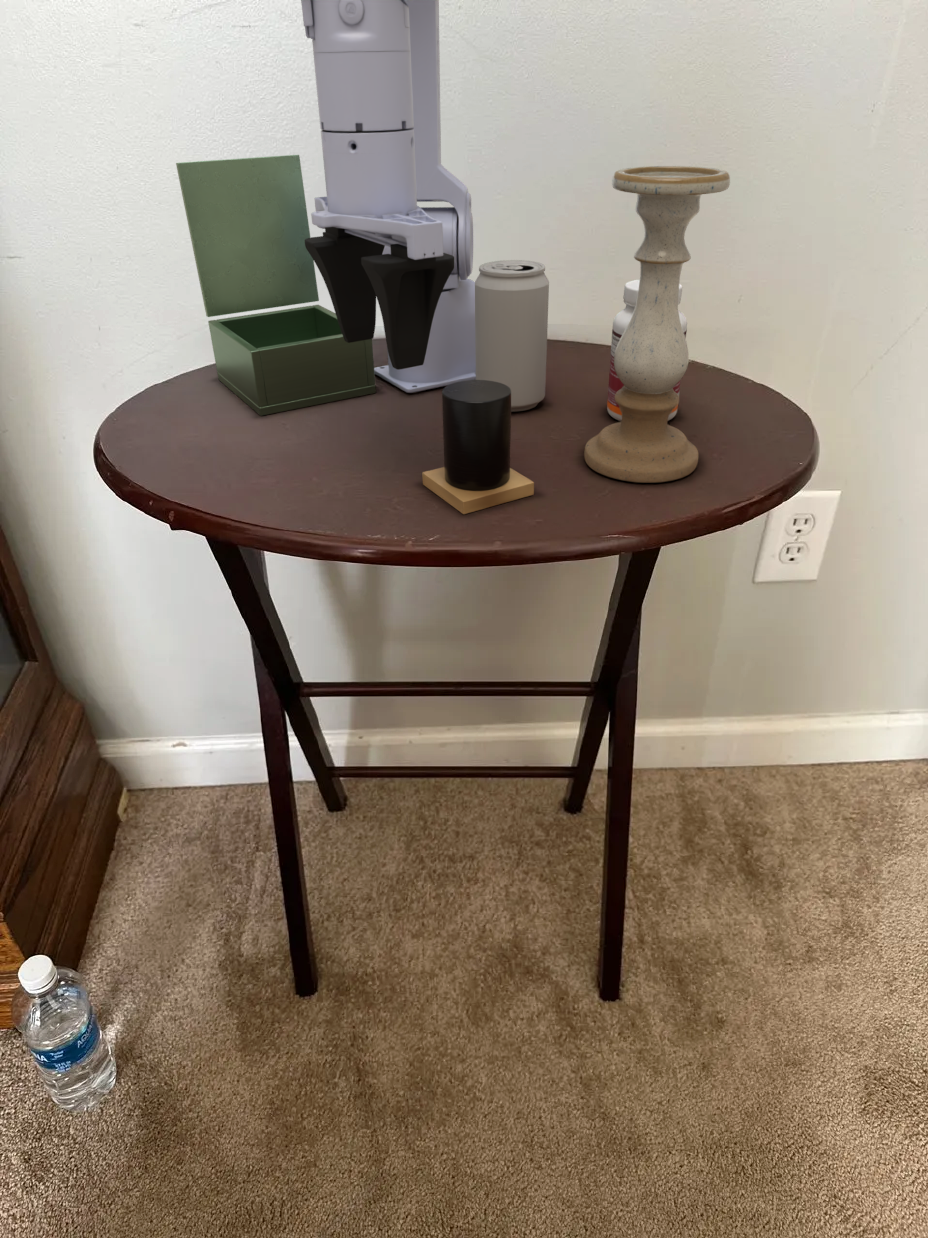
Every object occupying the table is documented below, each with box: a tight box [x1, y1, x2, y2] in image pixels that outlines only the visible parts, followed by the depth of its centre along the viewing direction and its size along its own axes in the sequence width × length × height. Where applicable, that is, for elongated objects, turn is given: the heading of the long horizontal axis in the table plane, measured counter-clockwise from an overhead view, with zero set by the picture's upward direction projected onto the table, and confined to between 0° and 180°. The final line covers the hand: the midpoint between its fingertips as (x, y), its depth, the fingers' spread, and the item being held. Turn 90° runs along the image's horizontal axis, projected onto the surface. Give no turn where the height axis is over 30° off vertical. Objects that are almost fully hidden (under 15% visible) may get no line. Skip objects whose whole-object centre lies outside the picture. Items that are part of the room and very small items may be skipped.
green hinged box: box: [207, 304, 377, 417], centre depth 82 cm, size 13×12×6 cm
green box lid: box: [175, 154, 320, 318], centre depth 81 cm, size 13×12×1 cm
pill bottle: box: [606, 279, 688, 422], centre depth 72 cm, size 6×6×11 cm
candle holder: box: [583, 165, 731, 484], centre depth 61 cm, size 9×9×20 cm
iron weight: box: [441, 380, 512, 491], centre depth 60 cm, size 5×5×6 cm
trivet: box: [421, 466, 535, 515], centre depth 62 cm, size 6×6×1 cm
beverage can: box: [474, 259, 550, 413], centre depth 75 cm, size 6×6×12 cm
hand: (382, 352), depth 59 cm, fingers open, 7 cm apart
